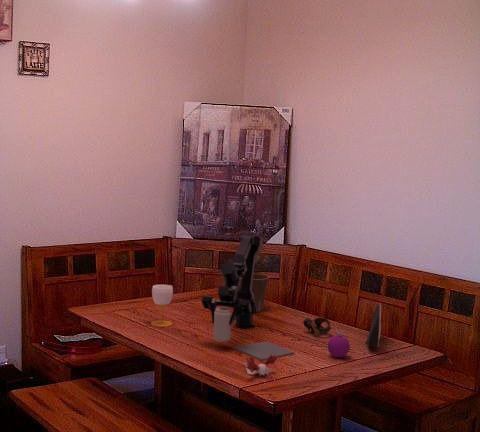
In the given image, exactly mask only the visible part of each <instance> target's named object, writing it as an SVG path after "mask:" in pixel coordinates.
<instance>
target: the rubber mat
mask: <svg viewBox="0 0 480 432" xmlns="http://www.w3.org/2000/svg"><path fill="white" fill-rule="evenodd" d="M234 350H236V351H239V352H240V353H243V354H246V355H247V356H249V357H252V356H253V359H256V360H258V361H261V362H263V361H267V360H268V359H269V357H270V355H271V354H272V355H273V356H274V355H276V358H277V359H278V358H280V357H281V358H282V357H286V356H291V355H295V352H294V351H292V350H290V349H287V348H285V347H283V346H280V345H277V344H275V343H272V342H271V341H268V340H267V341H266V340H265V341H262V342H261V341H260V342H256V343H251V344H244V345H240V346H235V347H234ZM270 353H271V354H270Z"/></svg>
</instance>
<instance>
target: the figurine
mask: <svg viewBox="0 0 480 432" xmlns="http://www.w3.org/2000/svg"><path fill="white" fill-rule="evenodd" d="M270 354H271V353H270ZM245 359H246V362H244V363H243V366H244V367H245V369H246V373H247V374H248V375H251V376H253V375H256V374H258V373H259V376H260V377H261V376H265V374H266V375H269V373H270V371H272V370H273V368H272V367H270V368H267V366H268V365H269V364H270V365H274V364H275V362H276V361H277V360H278V357H277V358H276V355H274V356H273V355H272V354H271V355H270V357H269V359H268V360H265V361H264V362H262V363H258V364H256V363H255V360H254V359H255V358H254V357H253V356H249V359H248V358H247V357H246V358H245Z"/></svg>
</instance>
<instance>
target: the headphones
mask: <svg viewBox="0 0 480 432" xmlns="http://www.w3.org/2000/svg"><path fill="white" fill-rule="evenodd" d="M323 323H326V324H327V326H326V327H325V326H323V325H322V324H323ZM302 324H303V326H304V327H305V328H306V329H307V331H308V332H314V333H313V336H314V337H315V338H317V337H318V336H321V335H326V334H328V333H329V332H330V331H331V330H332V327H331V322H330V320H328V318H325V317H323V316H316V317H314V318H313V319H311V318H304V319H303V321H302Z"/></svg>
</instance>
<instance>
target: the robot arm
mask: <svg viewBox="0 0 480 432" xmlns="http://www.w3.org/2000/svg"><path fill="white" fill-rule="evenodd" d="M263 242H264V239H263V238H262V237H261V236H260V235H256V234H255V235H254V234H242V235H241V237H240V242H239V245H238V247H237V250H236V252H235V254H234V256H232V257H230V258H229V259H227V262H224V263H223V264H221V265H220V270H219V271H220V273H221V277H222V279H223V281H224V285H223V286H222V285H219V286H218V289H217V295H218V299H219V300H216V299H215V298H214V296H212V295H203V296H202V297H201V301H200V302H201V304H202V306H203V307H202V308H203V309H204V310H209V311H210V312H211V323H212V324H214V312H215V311H216V310H215V309H216V308H218V307H224V308H233V311H232V312H231V319H230V323H229V325H231V326H232V324H233V323H234V326H236V327H238V328H241V329H248V328H255V327H256V326H255V325H254V324H253V323H254V322H253V321H254V314H257V312H256V310H257V309H256V303H255V300H254V295H253V292H252V282H253V275H254V273H255V266H256V258H257V256H258V254H259V253H260V252H261V250H262V247H263V244H264V243H263ZM238 276H243V277H242V284H241V289H240V290H239V291H238V288H239V285H240V278H239V277H238ZM217 306H218V307H217ZM251 309H252V310H251Z"/></svg>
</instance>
